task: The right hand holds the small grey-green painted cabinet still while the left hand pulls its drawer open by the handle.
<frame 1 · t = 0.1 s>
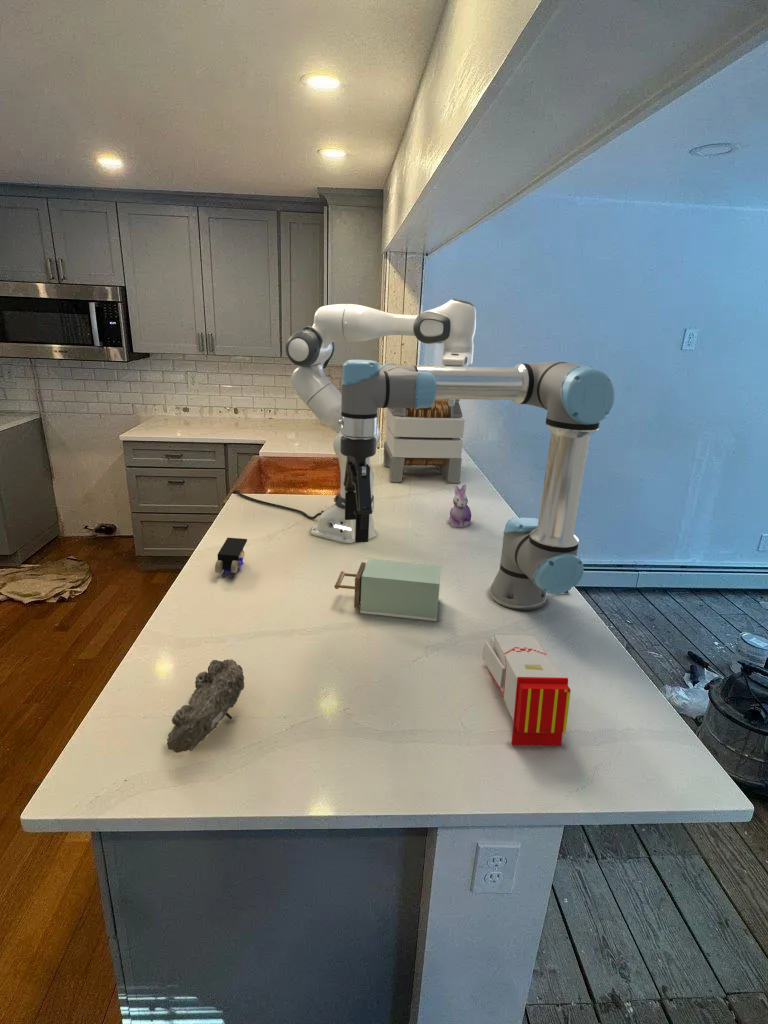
left hand: (453, 403, 174), 48 cm above the counter, tool pointing down, fingers open, 8 cm apart
right hand: (355, 530, 126), 28 cm above the counter, tool pointing down, fingers open, 13 cm apart
cabinet: (400, 606, 151), on the counter
drawer: (381, 586, 150), point 5 cm above the counter, slide at 0.6 cm
figurine: (459, 523, 212), on the counter
toy: (517, 698, 117), on the counter
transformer: (419, 473, 275), on the counter
figurine character: (232, 569, 168), on the counter
fossil: (212, 717, 108), on the counter
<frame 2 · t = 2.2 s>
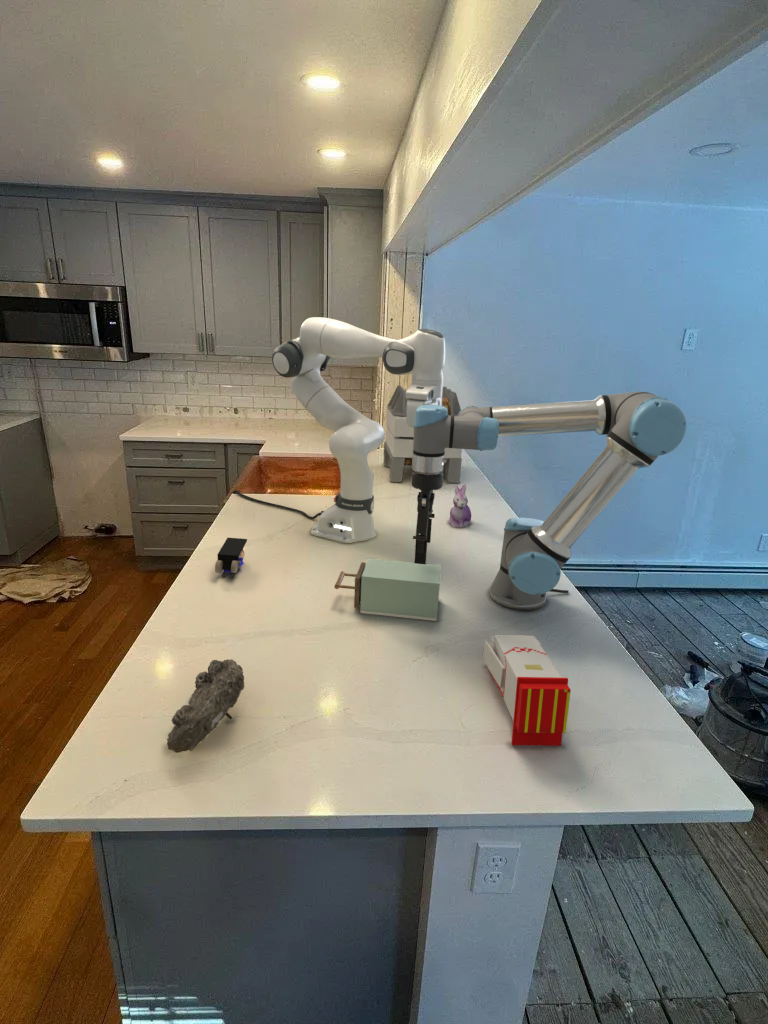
left hand: (423, 437, 165), 40 cm above the counter, tool pointing down, fingers open, 8 cm apart
right hand: (422, 552, 143), 17 cm above the counter, tool pointing down, fingers open, 13 cm apart
nothing on the counter moved.
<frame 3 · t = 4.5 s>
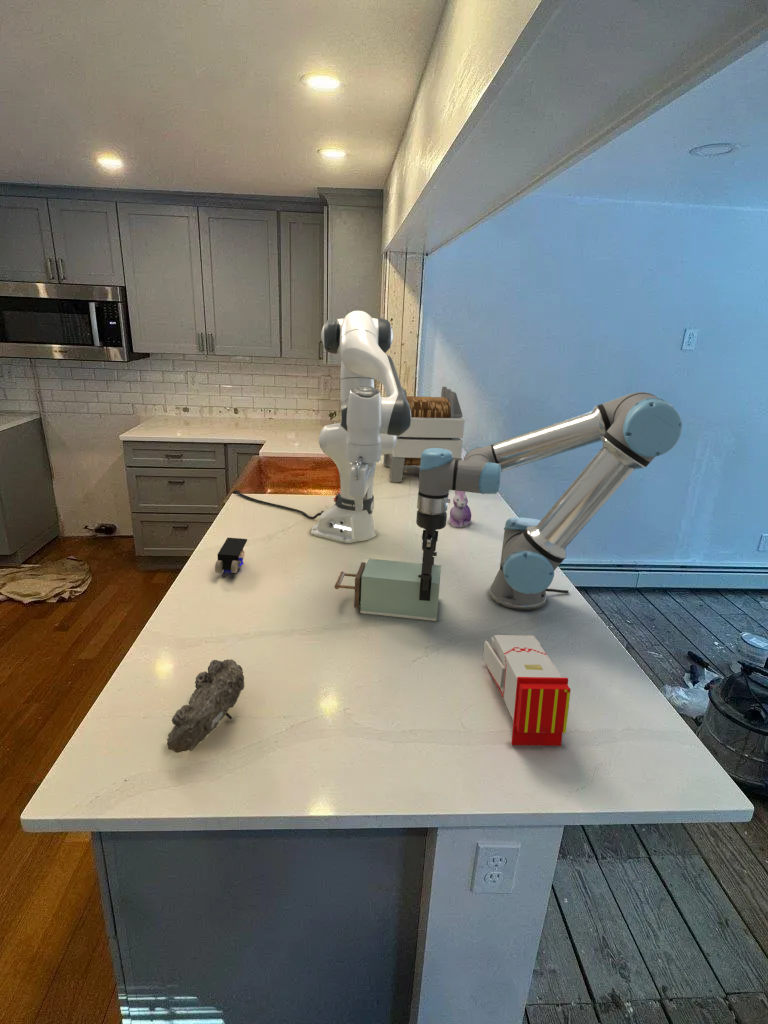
left hand: (361, 504, 148), 26 cm above the counter, tool pointing down, fingers open, 8 cm apart
right hand: (426, 589, 149), 6 cm above the counter, tool pointing down, fingers closed on cabinet, 11 cm apart
cabinet: (400, 606, 151), on the counter, touching right hand
everything else where it was.
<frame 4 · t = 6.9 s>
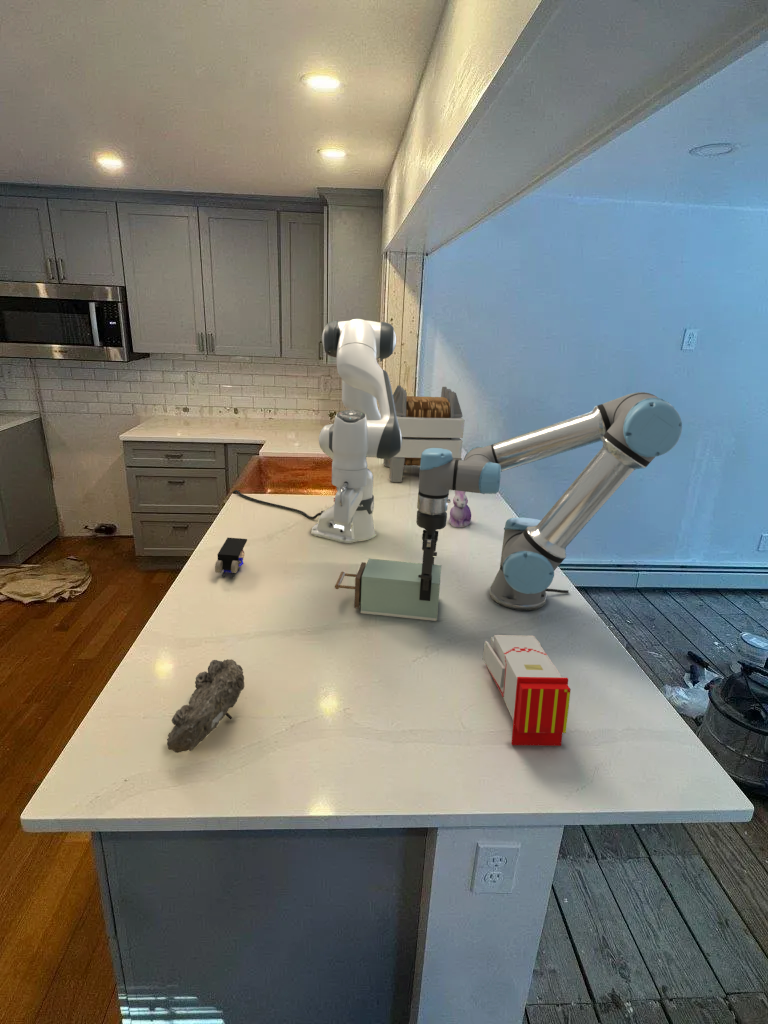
left hand: (348, 528, 146), 21 cm above the counter, tool pointing down, fingers closed
right hand: (426, 589, 149), 6 cm above the counter, tool pointing down, fingers closed on cabinet, 11 cm apart
cabinet: (400, 606, 151), on the counter, touching right hand
everything else where it was.
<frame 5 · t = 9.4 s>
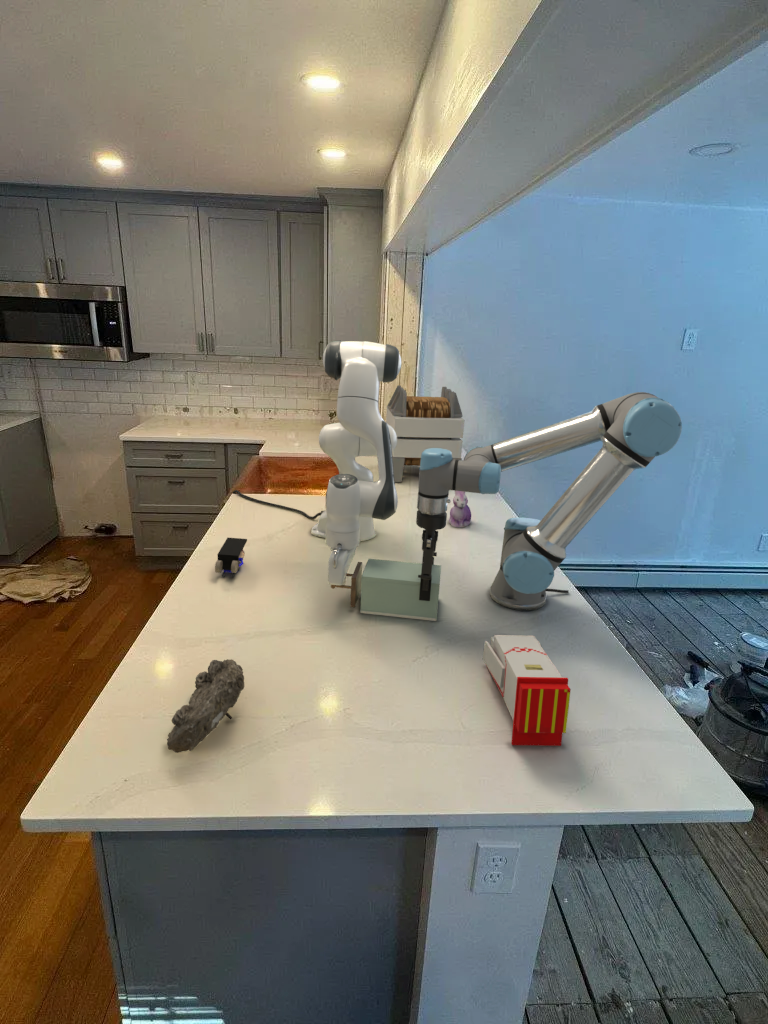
left hand: (341, 585, 152), 5 cm above the counter, tool pointing down, fingers closed, pressing on drawer
right hand: (426, 589, 149), 6 cm above the counter, tool pointing down, fingers closed on cabinet, 11 cm apart
cabinet: (400, 606, 151), on the counter, touching right hand
drawer: (378, 586, 150), point 5 cm above the counter, slide at 1.6 cm, touching left hand
everything else where it was.
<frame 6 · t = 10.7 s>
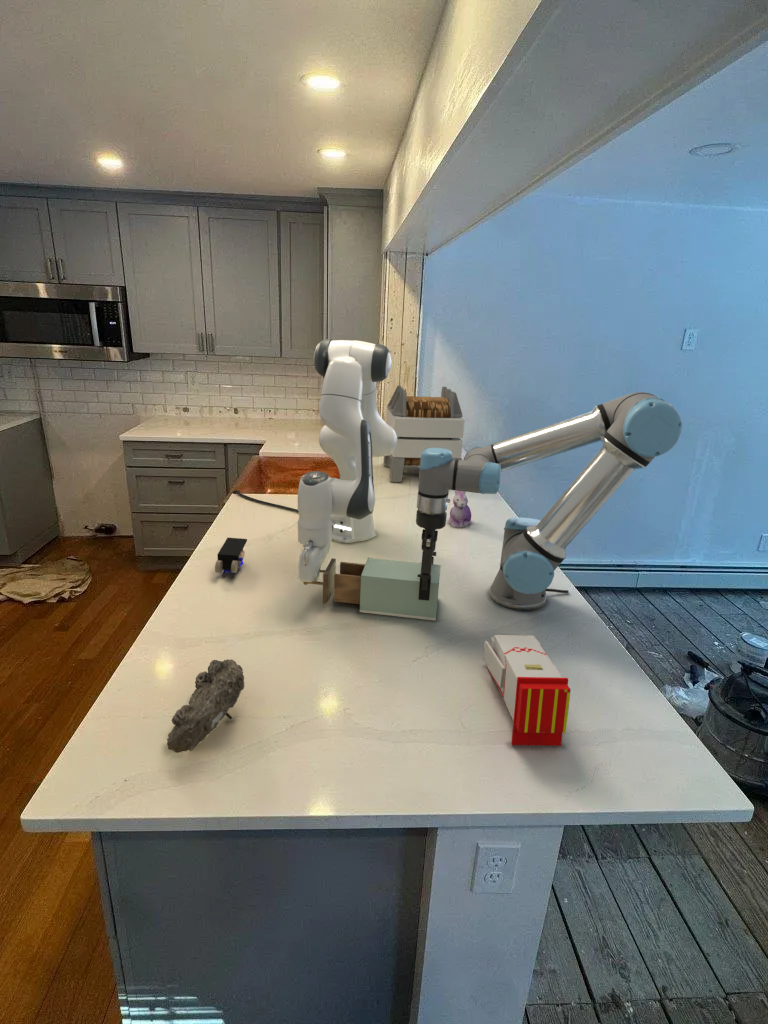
left hand: (314, 581, 152), 5 cm above the counter, tool pointing down, fingers closed, pressing on drawer
right hand: (425, 588, 149), 6 cm above the counter, tool pointing down, fingers closed on cabinet, 11 cm apart
cabinet: (399, 605, 151), on the counter, touching right hand
drawer: (350, 582, 151), point 6 cm above the counter, slide at 8.7 cm, touching left hand
everything else where it was.
when the right hand's fingers open (6 cm above the counter, at t = 12.3 s): cabinet stays where it is, on the counter.
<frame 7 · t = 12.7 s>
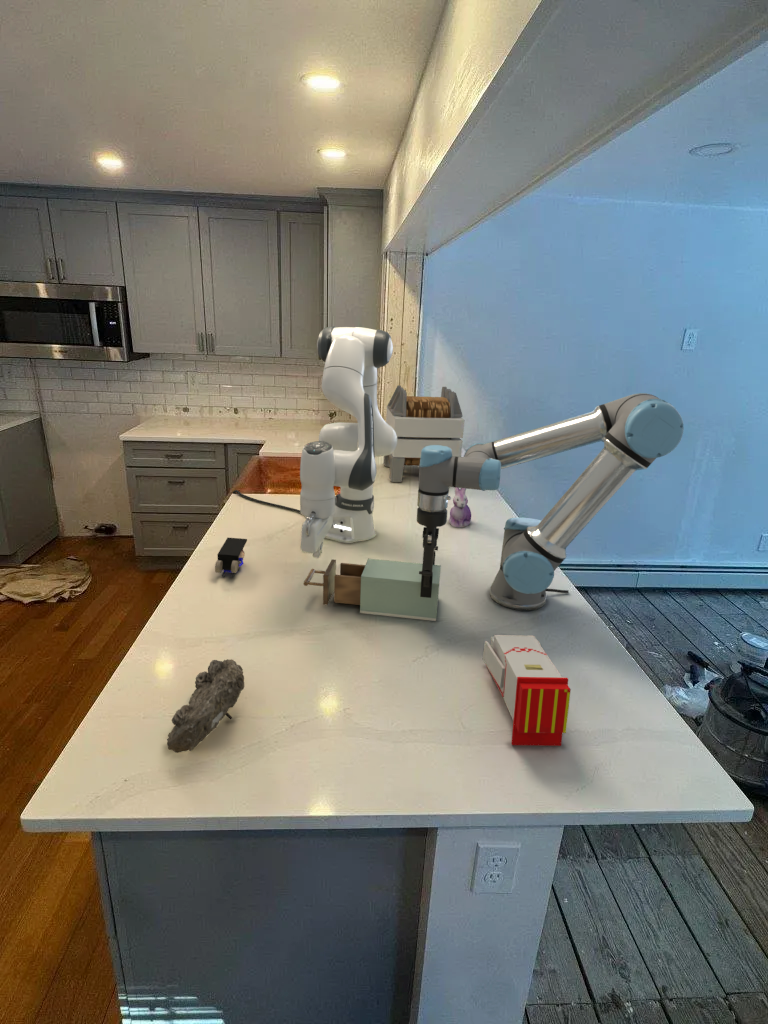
left hand: (317, 555, 150), 13 cm above the counter, tool pointing down, fingers closed
right hand: (427, 584, 148), 7 cm above the counter, tool pointing down, fingers open, 13 cm apart
cabinet: (400, 606, 151), on the counter
drawer: (351, 583, 151), point 5 cm above the counter, slide at 8.7 cm
everything else where it was.
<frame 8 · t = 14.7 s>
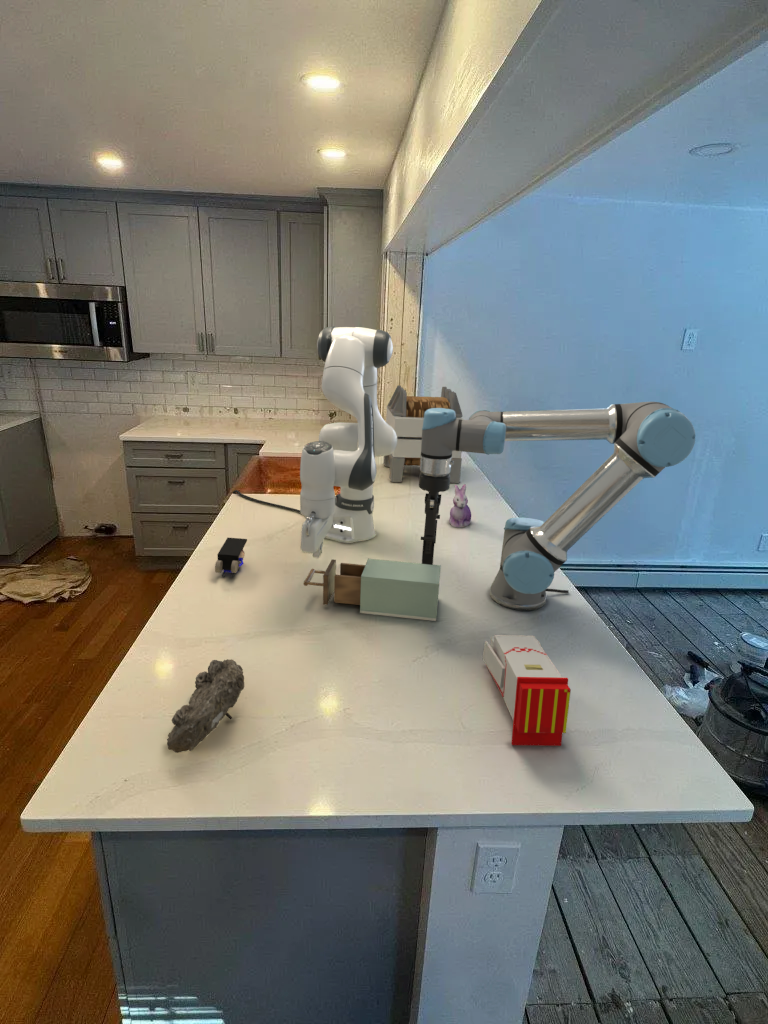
left hand: (317, 555, 150), 13 cm above the counter, tool pointing down, fingers closed
right hand: (428, 552, 145), 16 cm above the counter, tool pointing down, fingers open, 13 cm apart
nothing on the counter moved.
at the end: drawer slide at 8.7 cm; cabinet tilted 0°; cabinet never tilted more than 2° during the clip; cabinet moved 0.1 cm from its start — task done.
